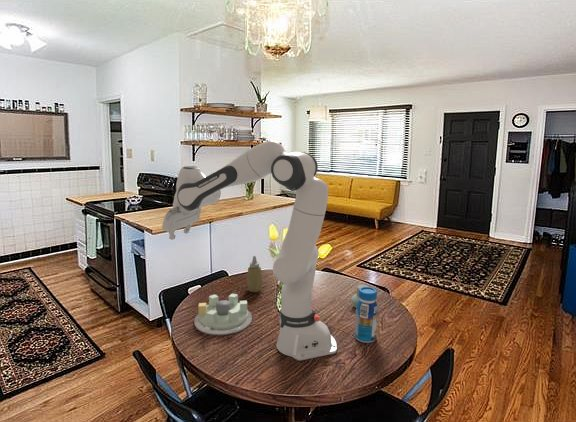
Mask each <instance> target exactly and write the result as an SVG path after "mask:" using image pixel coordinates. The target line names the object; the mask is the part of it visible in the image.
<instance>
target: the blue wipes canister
mask: <svg viewBox="0 0 576 422" xmlns="http://www.w3.org/2000/svg"><path fill="white" fill-rule="evenodd" d="M377 297H378V291H377V289H375V288H374V287H372V286H371V287H370V286H369V287H362V288H360V289H359V298H360V299H359V300H358V302H357V304H356V307H357V308H356V309H355V326H354V338H355V339H356V340H357V341H358V342H361V343H365V344H366V343H367V344H371V343H373V342H375V341H376V338H377V326H378V325H377V324H378V317H379V312H378V310H379V305H378V303H377V301H376V300H377V299H378V298H377Z"/></svg>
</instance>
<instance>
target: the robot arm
mask: <svg viewBox="0 0 576 422" xmlns="http://www.w3.org/2000/svg"><path fill="white" fill-rule="evenodd" d="M318 168H319V166H318V161H317V159H316V158H315V157H314V156H313V155H312V154H310V153H308V152H304V151H290V152H287V151H286V150H285V148H284V147H283V145H282V144H281V143H280V142H279V141H277V140H275V139H274V140H273V139H271V140H266V141H264V142H261V143H259V144H257V145H255V146H253V147H251V148H249V149H247V150H246V151H244V152H243V153H242V154H240V155H239V156H237V157H236V158H235V159H233V160H232V161H230V162H228V163H227V164H226V165H224V166H223V167H221V168H219V169H218V170H216V171H215V172H212V173H210V174H209V175H205V173H204V172H203V170H202V169H201V168H200V167H198V166H194V165H192V166H191V165H188V166H183V167H181V168H180V170H179V172H178V175H177V180H176V185H175V186H176V187H175V188H176V192H175V193H174V198H173V201H172V202H173V203H172V208H170V209H169V210H168V211H167V212H166V213H165V215H164V217H163V221H162V227H161V228H162V230H163V231H165V232H167V233H168V234H169V235H168V236H169V237H168V238H169V240H172V241H173V240H175V239H176V234H175V232H176V231H178V230H179V229H183V228H184V229H183V233H184V234H189V233H190V230H191V228H192V226H193V224H195V223H197V222H199V219H201V218H200V217H201V215H202V213H201V212H202V208H203V207H207V206H210V205H214V204H216V203H217V202H218V201H219V200H220V198H221V190H223V189H225V188H229V187H233V186H234V187H235V186H240V185H246V184H250V183H254V182H256V181H259V180H262V179H263V178H266V177H267V176H269V175H271V177H272V178H273V180H275V182H277V183H278V184H279V185H281V186H283V187H285V188H286V189H288V190H289V191H291V192H294V191H295V199H294V202H293V203H294V204H293V209H292V212H291V216H290V221H289V225H288V228H287V231H286V233H285V236H284V238H283V241H282V243H281V246H280V249H279V252H278V255H277V256H276V258H275V261H274V263H273V265H272V272H273V276H274V277H275V279H276V280H277V281H278V282H280V283H281V284H282V287H281V292H280V293H281V294H280V295H281V296H280V297H281V299H280V304H281V305H280V307H281V308H280V310H279V326H280V327H279V333H278V337H277V338H278V339H277V342H276V349H277V350H278V351H279V352H280V353H282V354H283V355H285V356H288V357H291V358H293V359H295V361H299V362H300V361H304V360H310V359H315V358H320V357H324V356H329V355H334V354H336V353H337V351H338V345H337V344H338V343H337V341H336V339H335V338H334V336H333V335H331V333H330V330H329V327H328V326H327V325H326V323H324V322H323V321H321V318H320V315H319V314H318V313H317V311H316V310H315V309H314V308H313V307H312V299H313V298H312V297H313V287H314V281H315V277H316V270H317V263H318V259H319V253H320V252H319V249H318V247H317V245H316V244H317V242H318V239H319V238H320V235H321V232H322V227H323V223H324V219H325V215H326V211H327V206H328V200H329V186H328V184H327V183H326V181H324V180H323V179H320V178H318V177H317V176H316V175H317V173H318Z"/></svg>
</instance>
